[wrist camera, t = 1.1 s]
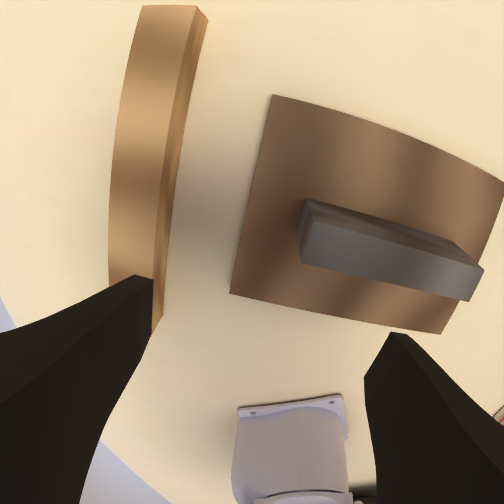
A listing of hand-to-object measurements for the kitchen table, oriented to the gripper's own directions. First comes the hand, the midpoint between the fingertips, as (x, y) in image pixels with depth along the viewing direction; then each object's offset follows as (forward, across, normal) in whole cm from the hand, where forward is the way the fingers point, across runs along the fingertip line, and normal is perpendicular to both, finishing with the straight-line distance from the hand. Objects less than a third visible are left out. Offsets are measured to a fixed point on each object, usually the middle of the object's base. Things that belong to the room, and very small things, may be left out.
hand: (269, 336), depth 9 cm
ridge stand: (+10, -6, -1) cm, 12 cm away
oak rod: (+11, +8, -1) cm, 13 cm away
